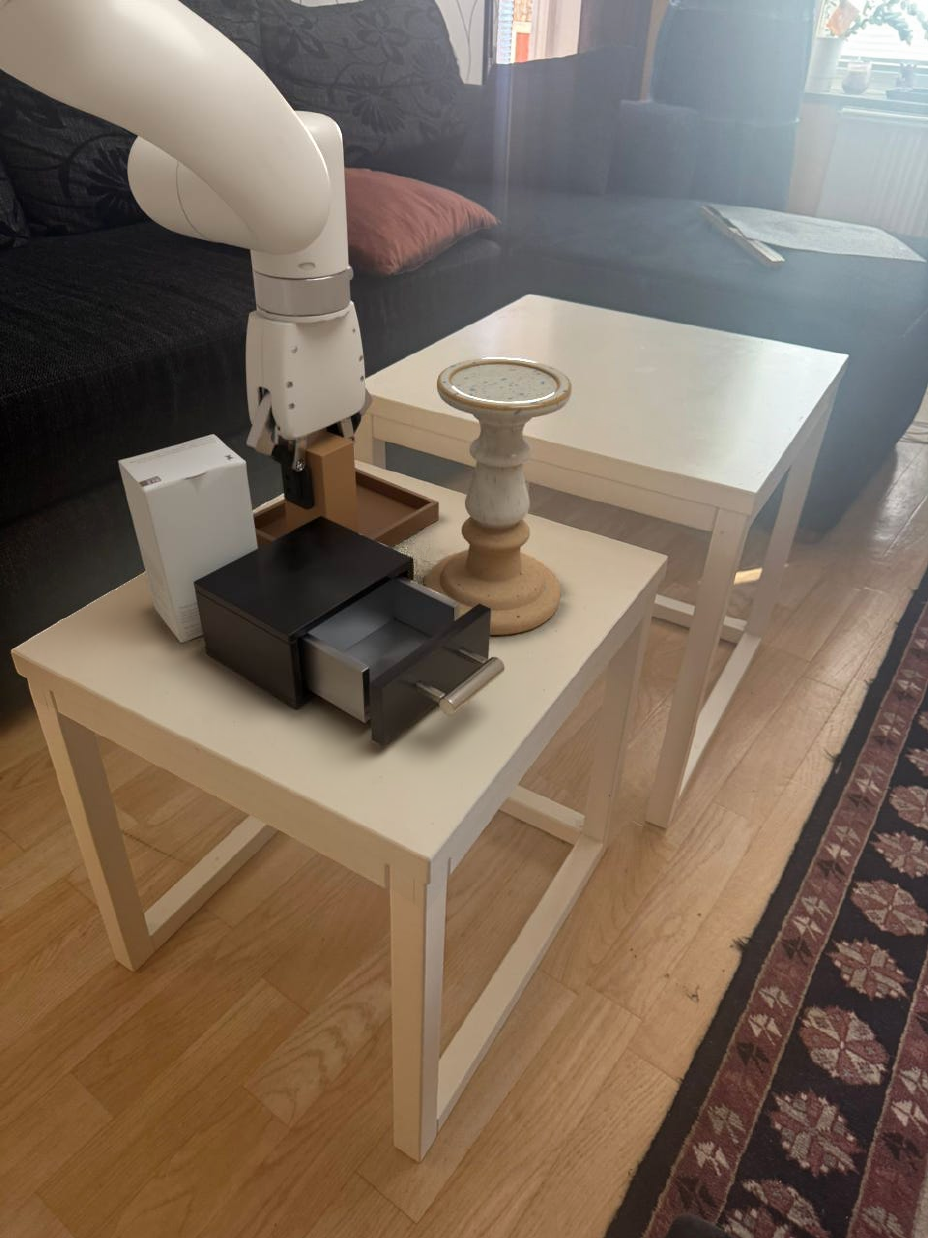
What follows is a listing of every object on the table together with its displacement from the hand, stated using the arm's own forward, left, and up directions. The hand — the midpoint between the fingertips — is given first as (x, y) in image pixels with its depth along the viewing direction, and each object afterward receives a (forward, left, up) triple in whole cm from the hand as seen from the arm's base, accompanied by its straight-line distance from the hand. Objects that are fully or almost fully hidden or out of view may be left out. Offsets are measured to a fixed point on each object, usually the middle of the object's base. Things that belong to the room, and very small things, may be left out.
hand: (318, 492), depth 80 cm
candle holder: (+4, -17, -7) cm, 19 cm away
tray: (+4, +1, -6) cm, 8 cm away
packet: (0, 0, -6) cm, 6 cm away
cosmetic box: (-14, 0, -7) cm, 15 cm away
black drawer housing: (-11, -10, -6) cm, 16 cm away
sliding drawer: (-11, -20, -5) cm, 23 cm away
